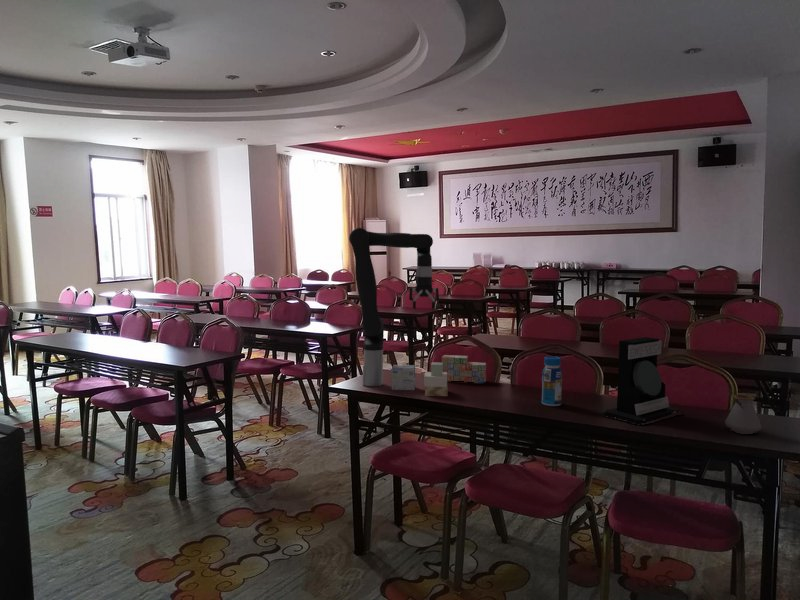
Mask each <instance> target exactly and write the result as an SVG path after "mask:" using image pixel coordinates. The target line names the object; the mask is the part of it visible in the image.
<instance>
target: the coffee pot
mask: <svg viewBox="0 0 800 600" xmlns="http://www.w3.org/2000/svg"><path fill="white" fill-rule="evenodd" d="M733 398H734V399H731V402H735V403H734V404H733V407H732V408H731V411H730V412H729V414H728V415H727V417H726V419H725V422H724V423H725V426H726V427H727V428H728V427H729V428H731V429H734V430H738V431H743V432H756V431H758V432H760V431H761V429H762V423H761V421H760V419H759V417H758V414H757V412H756V409H755V405H754V404H753V403H754V400H755V399H756V398H755V397H754V396H753V395H748V394H747V395H746V394H745V395H744V394H733ZM729 428H728V429H729ZM731 429H730V430H731ZM756 433H757V432H756Z"/></svg>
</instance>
